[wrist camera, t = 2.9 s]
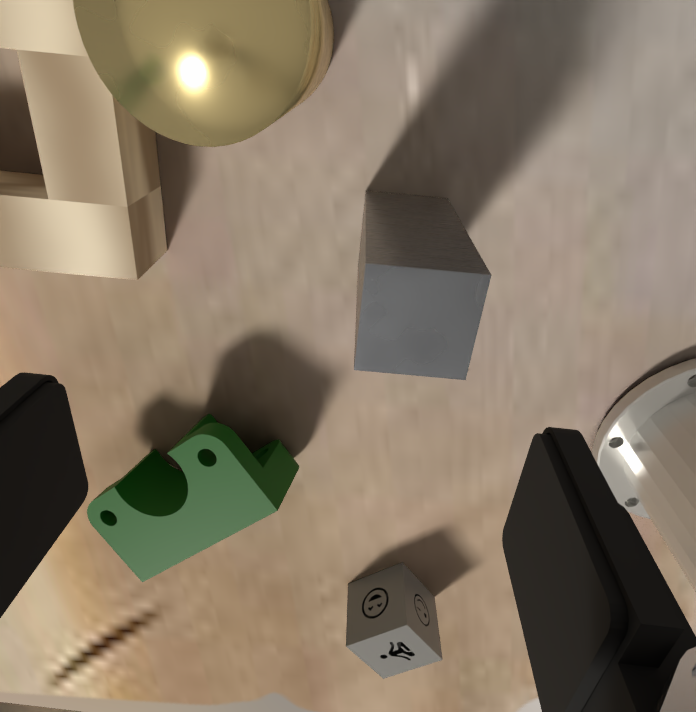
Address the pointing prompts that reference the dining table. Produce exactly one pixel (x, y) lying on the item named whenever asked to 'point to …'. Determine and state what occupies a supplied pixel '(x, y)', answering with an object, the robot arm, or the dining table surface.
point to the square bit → (417, 288)
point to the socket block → (76, 160)
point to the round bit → (208, 61)
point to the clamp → (190, 497)
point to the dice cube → (392, 622)
